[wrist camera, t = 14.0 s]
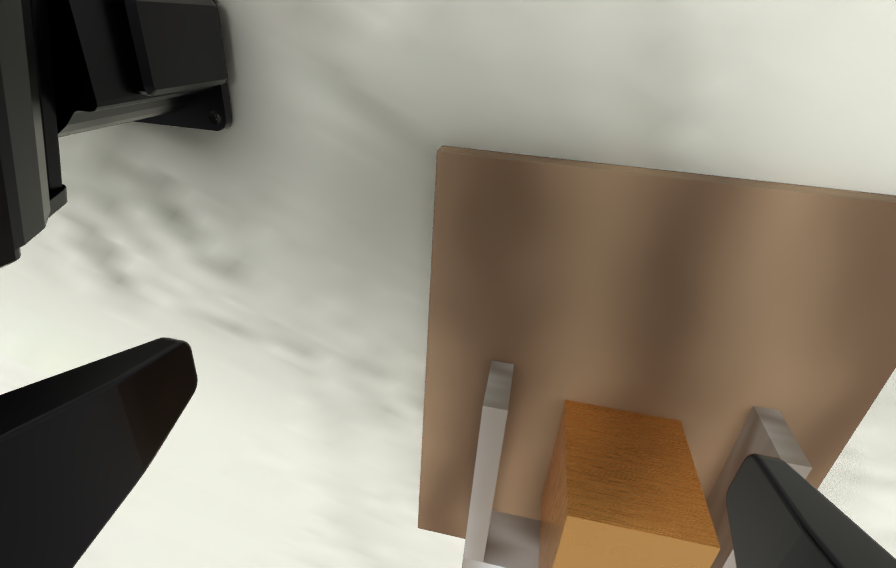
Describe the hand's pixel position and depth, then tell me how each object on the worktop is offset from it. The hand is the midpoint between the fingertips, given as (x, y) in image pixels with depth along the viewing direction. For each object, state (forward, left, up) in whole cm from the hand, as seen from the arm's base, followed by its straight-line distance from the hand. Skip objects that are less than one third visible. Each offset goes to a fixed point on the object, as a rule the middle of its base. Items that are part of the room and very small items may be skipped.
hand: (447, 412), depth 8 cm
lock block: (+6, -13, -12) cm, 18 cm away
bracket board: (+6, -10, -13) cm, 17 cm away
